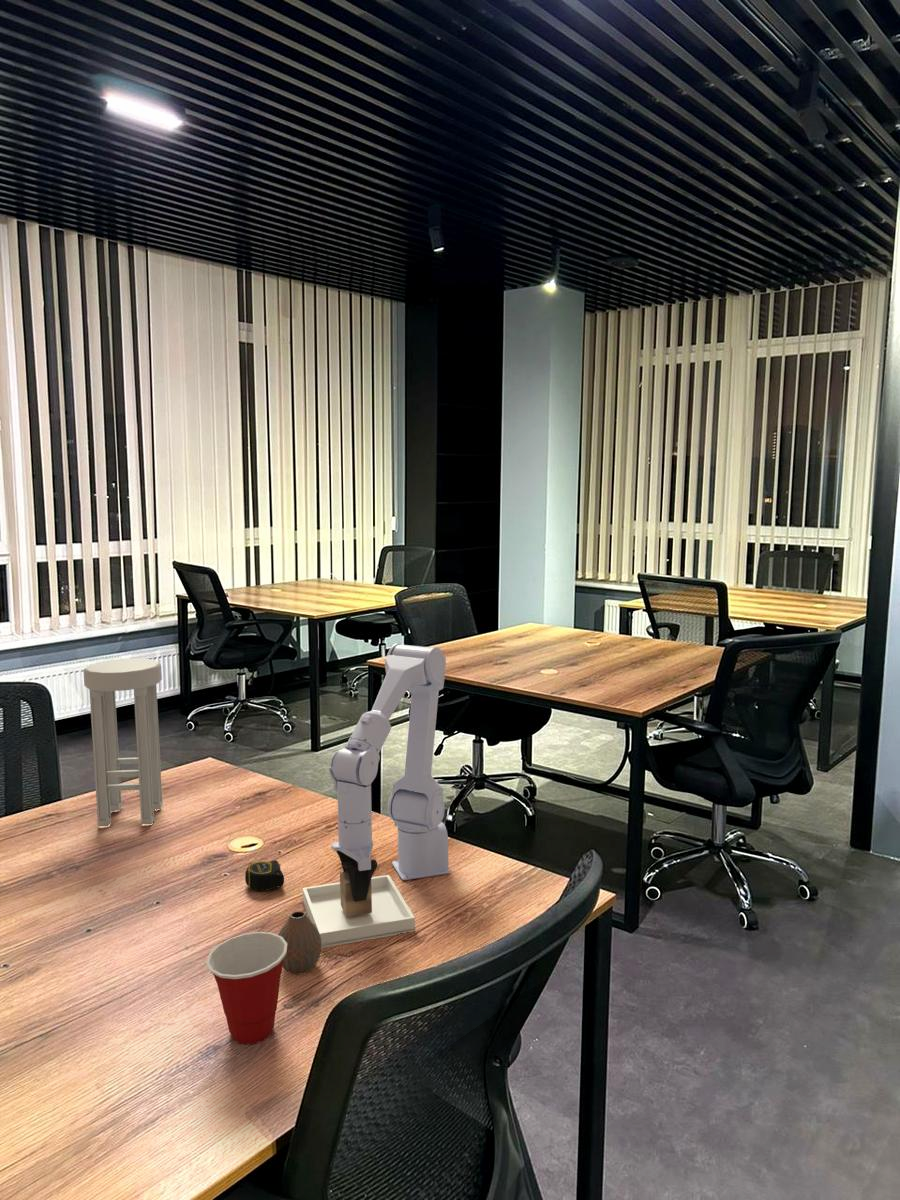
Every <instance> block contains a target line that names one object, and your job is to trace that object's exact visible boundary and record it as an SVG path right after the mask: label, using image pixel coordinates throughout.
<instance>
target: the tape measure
mask: <svg viewBox="0 0 900 1200" xmlns="http://www.w3.org/2000/svg"><path fill="white" fill-rule="evenodd" d="M279 863H280V862H279V861H278V860H276V859H275V860H271V861H257V862H255V863H252V864H250V865H249V866H248V867H247V868H246V870H245V877H244V879H245V884H246V885H247V887H248V888H250V889H251V890H254V891H260V892H261V891H262V892H263V891H265V892H266V891H268V890H272V889H275V888H276V889H277V888H279V887H282V886H283V885H284V884H285V875H284V872H283V871H282V870H281V863H280V864H279Z"/></svg>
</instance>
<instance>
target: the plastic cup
mask: <svg viewBox="0 0 900 1200" xmlns="http://www.w3.org/2000/svg"><path fill="white" fill-rule="evenodd" d="M286 951H287V943H286V941H285V940H284V939H283V937H281V936H279V934H276V933H274V932H267V931H266V932H264V931H254V932H248V933H242V934H239V935H236V936H234V937H230V938H228V939H226V940H225V941H223V942H221V943H219V944H217V945H216V946H214V948H213V949H212V950H211V951H210V953H209V954H208V956H207V957H206V958H207V959H206V962H205V964H206V966H207V968H208V969H209V971H210V973H211V974H212V976H213V977H214V979H215V982H216V985H217V990H218V993H219V997H220V1000H221V1001H220V1002H221V1005H222V1008H223V1013H224V1015H225V1017H226V1022H227V1023H226V1024H227V1027H228V1032H229V1035H230V1036H231V1038H232V1041H234V1042H236V1043H238V1044H242V1045H255V1044H258V1043H261V1042H263V1041H265V1040H267V1039H269V1037H270V1036H271V1034H272V1033H273V1030H274V1026H275V1020H276V1019H275V1018H276V1014H277V1013H276V1011H277V1010H278V1003H279V1002H278V1001H279V992H280V986H281V975H282V973H283V967H282V966H283V961H284V957H285V956H286Z"/></svg>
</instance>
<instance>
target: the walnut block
mask: <svg viewBox="0 0 900 1200" xmlns="http://www.w3.org/2000/svg"><path fill="white" fill-rule="evenodd" d="M339 882H340V895H341V907H342V909H343V911H344V913H345V915H346V917H349V916H354V915H360V914H366V913H372V893H371V881H370V885H369V890H368V895H367V898H366V900H363V901H357V902H355V901H354V899H353V896H352V892H351V885H350V880H349V877H348V874H347V872H343V871H342V872H339Z"/></svg>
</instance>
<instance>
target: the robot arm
mask: <svg viewBox="0 0 900 1200" xmlns="http://www.w3.org/2000/svg"><path fill="white" fill-rule="evenodd" d="M446 661H447V658H446V657H445V655H444V653H443V651H442V650H441V648H439V647H437V646H434V647H430V646H422V645H420V646H419V645H409V644H401V643H394V644H392V645H391V647H390V648H389V649H388V652H387V654H386V657H385V659H384V668H385V677H384V679H383V681H382V684H381V686H380V689H379V691H378V694H377V696H376V699H375V701H374V703H373V705H372V708H371V710H370V711H369V710H368V711H367V712H363V713H362V714H361V716H360V718H359V720H358V722H357V723H356V725H355V727H354V729H353V732H352V733H351V734H350V737H349V738H348V741H347V743H346V744H345V746H344V747H342V748H340V749H339V750H337V751H335V753H334V754H333V756H332V757H331V761H330V767H329V768H328V771H329V775H330V778H331V780H332V781H333V789H334V790H335V792H336V793H337V795H336V796H337V830H338V832H337V833H338V838H337V839H338V840H337V842H333V843H331V848H332V851H333V852H335V853H337V856H338V858H339V861H340V863H341V868H342V872H347V874H348V877H349V880H350V885H351V892H352V896H353V899H354V901H355V902H357V901H363V900H366V898H367V895H368V890H369V885H370V881H371V878H372V877H374V876H373V875H374V873H375V872H376V870H377V868H378V861H377V860H376V859H372V857H371V855H372V852H373V847H374V839H373V824H372V823H373V822H372V818H373V817H372V783H373V782H374V780H375V779H376V777H377V774H378V769H379V763H380V758H381V756H380V753H381V750H382V748H383V746H384V744H385V742H386V740H387V738H388V736H389V735H390V733H391V730H392V725H391V723H390V718H391V717H392V715H393V714H394V713H395V710H396V709H397V707H398V706H399V704H400V702H401V701H402V699H403V698H404V696H405V695H406V692H407V691H409V692H410V693H411V699H410V709H409V721H408V731H407V733H408V734H407V743H406V755H405V763H404V774H403V776H401V777H399V778H398V779H396V781H394V782H393V783H392V789H391V793H390V796H389V798H388V801H387V813H388V816H389V819H390V820H392V821H394V822H393V826H394V827H397V860H394V861H392V862H391V863H392V866H393V867H394V869H395V872H397V874H398V876H399V877H400V878H401V880H402V881H409V880H413V879H421V878H428V877H429V878H430V877H435V876H440V875H446V874H450V872H451V871H450V869H449V868H450V867H449V836H448V830H447V827H446V825H445V823H444V822H442V821H443V819H444V817H445V810H446V809H445V802H444V788H443V787H442V785H441V784H440V783H439V782H437V781H436V779H435V778H433V776H432V770H433V758H434V749H435V737H436V725H437V713H438V703H439V692H440V691H441V690H443V689H444V687H445V685H444V684H445V679H446V678H445V677H446V665H447V662H446Z"/></svg>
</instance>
